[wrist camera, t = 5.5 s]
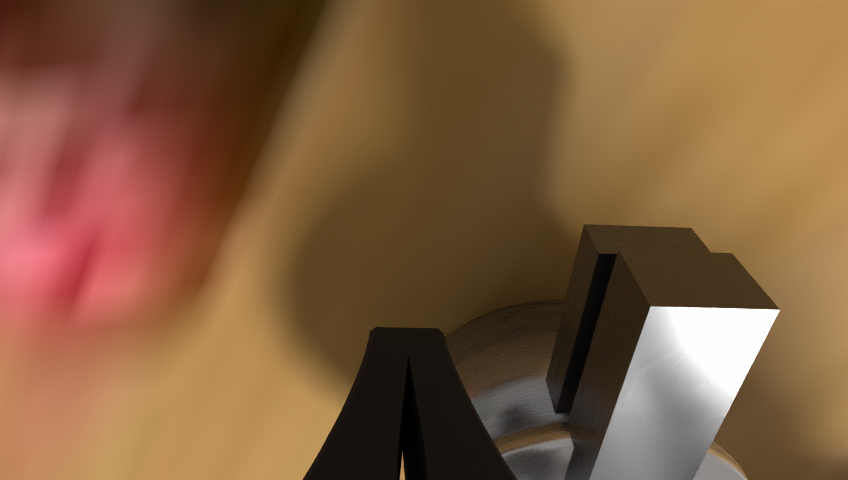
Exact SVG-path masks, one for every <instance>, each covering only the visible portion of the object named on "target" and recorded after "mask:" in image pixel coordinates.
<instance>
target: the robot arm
mask: <svg viewBox="0 0 848 480" xmlns="http://www.w3.org/2000/svg"><path fill="white" fill-rule="evenodd" d="M402 450H403V461H404V472H405V480H517V478H516V477H515V475H514V474H513V472H512V471H511V469H510V468H509V466H508V464H507V463H506V461H505V460H504V458H503V457H502V455H501V453H500V452H499V450H498V448H497V447H496V445H495V443H494V442H493V440H492V438H491V437H490V435H489V433H488V431H487V430H486V428H485V426H484V424H483V423H482V421H481V419H480V417H479V415H478V413H477V411H476V409H475V407H474V405H473V403H472V402H471V400H470V398H469V396H468V394H467V392H466V390H465V388H464V386H463V383H462V381H461V379H460V377H459V374H458V372H457V370H456V368H455V365H454V363H453V360H452V358H451V355H450V353H449V350H448V347H447V344H446V341H445V338H444V334H443V332H441V331H440V330H439V329H437V328H393V327H376V328H374V329H373V330H371V331H370V335H369V341H368V345H367V348H366V352H365V355H364V358H363V361H362V364H361V366H360V369H359V372H358V374H357V377H356V379H355V382H354V384H353V386H352V388H351V391H350V393H349V395H348V397H347V399H346V402H345V404H344V406H343V408H342V410H341V412H340V414H339V416H338V418H337V420H336V422H335V424H334V426H333V428H332V430H331V431H330V433H329V435H328V437H327V439H326V441H325V443H324V444H323V446H322V448H321V450H320V452H319V453H318V455H317V457H316V459H315V460H314V462H313V464H312V465H311V467H310V469H309V470H308V472H307V473H306V475H305V477H304V478H303V480H400V470H401V460H402Z"/></svg>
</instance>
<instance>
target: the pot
mask: <svg viewBox="0 0 848 480" xmlns="http://www.w3.org/2000/svg"><path fill="white" fill-rule="evenodd" d="M618 250H640V251H671V252H702V253H711V252H710V251H709V249H708V248H707V247H706V246H705V245H704V243H703V242H702V241H701V240H700V238H699V237H698V236H697V235H696V233H695V232H694V231H693V230H692V228H674V227H644V226H614V225H584V226H583V230H582V234H581V239H580V243H579V247H578V251H577V255H576V259H575V263H574V267H573V271H572V275H571V279H570V283H569V287H568V291H567V295H566V299H565V301H542V302H534V303H526V304H521V305H517V306H512V307H508V308H504V309H501V310H498V311H495V312H492V313H489V314H486V315H484V316H482V317H480V318H478V319H475V320H473V321H471V322H469V323H467V324H466V325H464V326H462V327H461V328H459V329H457V330H456V331H454V332H452V333H451V334H450V335H449V336H447V337H446V338H445V341H446V344H447V347H448V350H449V353H450V355H451V358H452V360H453V363H454V365H455V368H456V370H457V372H458V374H459V377H460V379H461V381H462V383H463V386H464V388H465V390H466V392H467V394H468V396H469V398H470V400H471V402H472V403H473V405H474V407H475V409H476V411H477V413H478V415H479V417H480V419H481V421H482V423H483V424H484V426H485V428H486V430H487V431H488V433H489V435H490V437H491V438H492V440H496V439H498V438H501V437H503V436H506V435H509V434H512V433H516V432H519V431H522V430H526V429H529V428H533V427H537V426H542V425H547V424H552V423H557V422H564V421H568V420H569V416H570V413H571V409H572V406H573V403H574V399H575V396H576V392H577V389H578V386H579V382H580V379H581V375H582V372H583V369H584V365H585V362H586V358H587V355H588V352H589V348H590V345H591V341H592V338H593V335H594V331H595V328H596V324H597V321H598V318H599V314H600V311H601V307H602V304H603V301H604V297H605V294H606V290H607V287H608V284H609V280H610V277H611V273H612V270H613V267H614V263H615V260H616V256H617V253H618ZM713 442H714V440H713ZM714 443H715V442H714ZM715 444H716V443H715Z"/></svg>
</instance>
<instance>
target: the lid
mask: <svg viewBox="0 0 848 480" xmlns="http://www.w3.org/2000/svg"><path fill="white" fill-rule="evenodd" d="M779 310H780V309H779V308H778V307H777V306H776V305H775V303H774V302H773V301H772V300H771V299H770V298H769V296H768V295H767V294H766V293H765V292H764V290H763V289H762V288H761V287H760V286H759V285H758V283H757V282H756V281H755V280H754V279H753V278H752V276H751V275H750V274H749V273H748V272H747V271H746V269H745V268H744V267H743V266H742V265H741V264H740V262H739V261H738V260H737V259H736V258H735V257H734V255H733V254H732V253H702V252H671V251H640V250H618V253H617V256H616V260H615V263H614V267H613V270H612V273H611V277H610V280H609V284H608V287H607V290H606V294H605V297H604V301H603V304H602V307H601V311H600V314H599V318H598V321H597V324H596V328H595V331H594V335H593V338H592V341H591V345H590V348H589V352H588V355H587V358H586V362H585V365H584V369H583V372H582V375H581V379H580V382H579V386H578V389H577V392H576V396H575V399H574V403H573V406H572V409H571V413H570V416H569V420H568V421H564V422H557V423H552V424H547V425H542V426H537V427H533V428H529V429H526V430H522V431H519V432H516V433H512V434H509V435H506V436H503V437H501V438H498V439H496V440H493V442H494V443H495V445H496V447H497V448H498V450H499V452H500V453H501V455H502V457H503V458H504V460H505V461H506V463H507V464H508V466H509V468H510V469H511V471H512V472H513V474H514V475H515V477H516V478H517V480H748V478H747V477H746V475H745V473H744V471H743V470H742V468H741V467H740V466H739V464H738V463H737V462H736V460H735V459H734V458H733V457H732V456H731V455H730V454H729V453H727V452H726V451H725V450H724V449H723V448H722V447H720V446H719V445H717V444H715V443H714V442H713V440H714V438H715V436H716V434H717V432H718V430H719V428H720V426H721V424H722V422H723V420H724V418H725V416H726V414H727V412H728V410H729V408H730V406H731V404H732V402H733V400H734V398H735V397H736V395H737V393H738V391H739V389H740V387H741V385H742V383H743V381H744V379H745V377H746V375H747V373H748V371H749V369H750V367H751V365H752V363H753V361H754V359H755V357H756V355H757V353H758V352H759V350H760V348H761V346H762V344H763V342H764V340H765V338H766V336H767V334H768V332H769V330H770V328H771V326H772V324H773V322H774V320H775V318H776V316H777V314H778V312H779Z"/></svg>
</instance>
